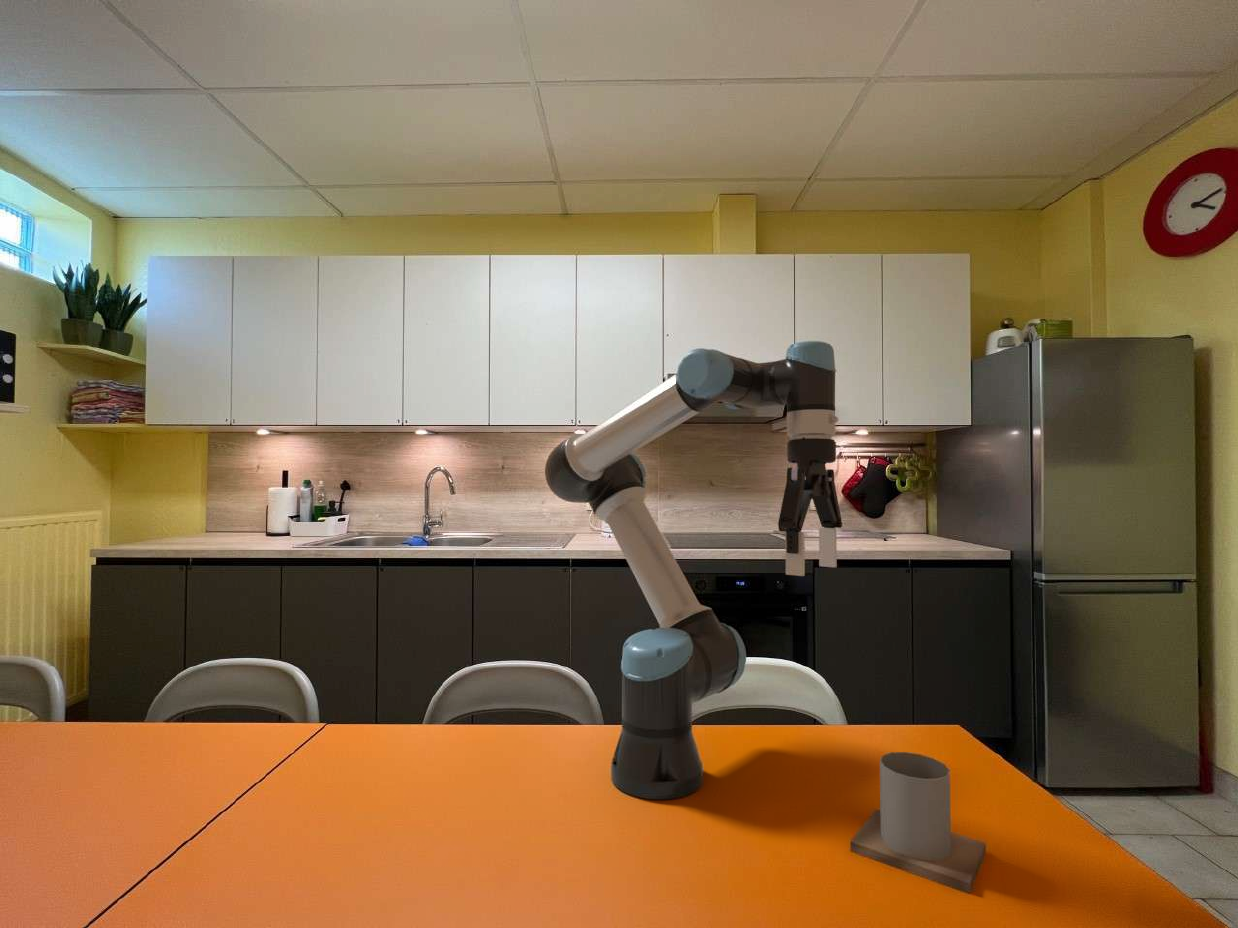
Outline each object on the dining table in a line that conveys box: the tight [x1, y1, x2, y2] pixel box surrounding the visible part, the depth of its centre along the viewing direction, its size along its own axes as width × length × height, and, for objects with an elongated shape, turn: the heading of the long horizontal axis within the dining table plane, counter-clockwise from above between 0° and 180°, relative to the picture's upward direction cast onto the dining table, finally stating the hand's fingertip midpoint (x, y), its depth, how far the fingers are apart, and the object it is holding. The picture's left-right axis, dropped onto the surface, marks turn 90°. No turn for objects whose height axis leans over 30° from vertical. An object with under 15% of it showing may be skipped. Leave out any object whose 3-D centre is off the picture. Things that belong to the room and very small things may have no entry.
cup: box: [879, 751, 952, 861], centre depth 83 cm, size 8×8×10 cm
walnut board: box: [849, 809, 987, 894], centre depth 83 cm, size 14×11×1 cm
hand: (812, 570), depth 101 cm, fingers open, 13 cm apart
